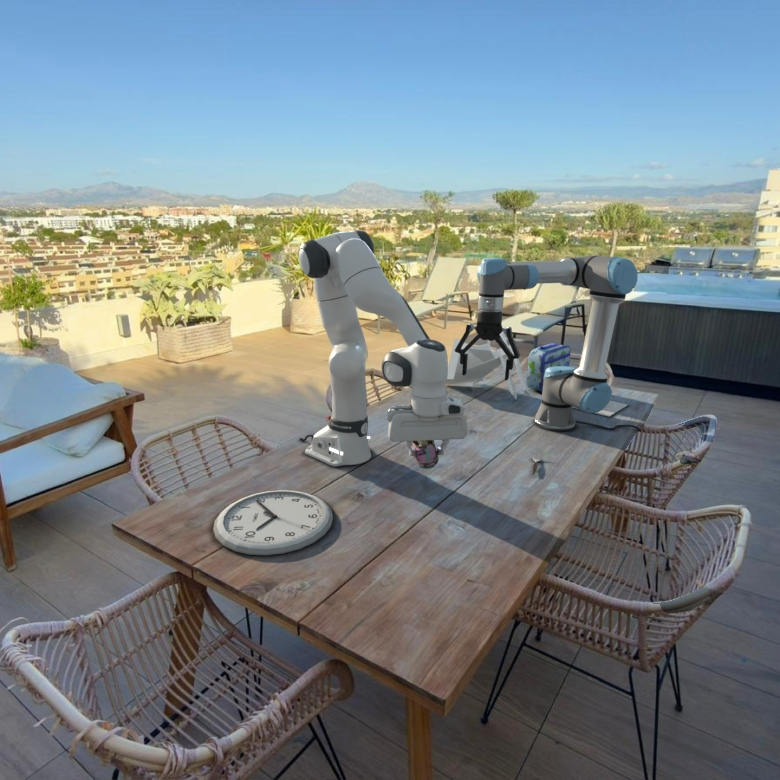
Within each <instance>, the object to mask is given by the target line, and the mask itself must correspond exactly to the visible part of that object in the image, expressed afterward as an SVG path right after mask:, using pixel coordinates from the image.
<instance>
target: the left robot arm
mask: <svg viewBox="0 0 780 780" xmlns="http://www.w3.org/2000/svg"><path fill="white" fill-rule="evenodd" d="M297 259H298V264H299V266H300V270H301V271H302V273H303V274H304V275H305V276H306V277H308V278H310V279H313V287H314V294H315V298H316V303H317V306H318V311H319V315H320V320H321V322H322V327H323V329H324V330H325V332H326V335H327V337H328V341H329V343H330V346H331V353H330V355H329V358H328V371H329V381H330V388H331V406H332V407H331V408H332V409H331V411H332V412H331V413H332V414H330V415H329V416H327V417H325V422H328V423H327V424H326V425H325V426H324V427H322V428H321V429H319V430H318V431H317V432H314V433H313V434H307V435H306V436H305V437H304V438H302V437H300V438H299V440H300V441H302V442H305V441H307V439H308V438H311V444H310V445H309V446H307V447H306V448H305V451H304V454H305V455H307V456H309V457H311V458H313V459H315V460H318V461H320V462H322V463H324V464H326V465H328V466H331V467H342V466H353V465H354V466H355V465H360V464H364V463H366V462H368V461H369V460H370V459H371V458H372V453H371V449H370V444H369V440H370V439H371V436H368V431H369V416H368V413H367V409H368V408H367V402H368V400H367V398H368V397H367V396H368V395H367V382H366V366H367V361H368V358H369V350H368V345H367V343H366V342H367V341H366V339H365V335H364V332H363V329H362V328H363V327H362V325H361V322H360V320H359V319H360V318H359V315H358V311H357V309H358V310H360V311H363V312H365V313H368V314H372V315H373V314H374V315H376V316H379V317H383V318H384V319H387V320H388V321H390V322H391V323H393V325H394V326H395V327H396V329H397V330H398V331H399V333H400V335H401V337H402V338H403V340H404V341H405V343H406V345H407V346H405V347H400V348H396V349H392V350H390V351H388V352H386V353H385V354H384V356H383V358H382V361H381V373H382V377H383V378H384V380H385V381H386V383H388V384H389V385H391V386H392V387H396V388H397V387H399V388H405V387H406V388H407V387H408V388H410V390H411V392H410V404H404V405H398V404H396V405H393V406H392V407H390V408H389V409H388V410H387V421H388V428H387V436H388V439H389V441H391V442H393V443H398V442H405V445H406V447H407V448H408V454H409V457H413V456H416V449H415V448H412V447H411V446H410V445H412V441H426V440H434V441H442V443H441V444H440V446H436V450H437V454H438V456H444V455H445V450H446V448H447V447H448V445H449V443H450V440H464V439H465V438H466V437H467V436H468V421H467V417H466V414H464V413H465V406H464V404H463V403H462V402H461V400H459V399H458V398H456V397H452V396H449V395H447V393H448V392H447V388H446V386H447V385H446V380H447V376H448V366H449V362H448V361H449V359H448V358H449V357H448V352H447V348H446V346H445V345H444V344H443V343H442V342H440V341H438V340H435V339H431V338H430V337H429V335H428V334H427V332H426V331H425V329H424V327H423V325H422V324H421V322H420V321H419V319H418V317H417V316H416V314H415V312H414V311H413V309H412V308H411V306H410V304H409V303H408V301H407V300H406V299H405V298H404V296H403V295H402V294H401V293H400V292H398V291H397V290H396V289H395V287H394V286H393V285H392V283H391V282H390V281H389V280H388V277H387V276H386V274H385V273H384V271H383V269H382V266H381V264H380V263H379V261H378V258H376V256H375V246H374V242H373V240H372V238H371V236H370V235H369V234H368V232H366V231H365V230H361V229H352V230H350V231H340V232H333V233H331V234H328V235H324V236H321V237H317V238H314V239H313V238H311V239H309V240H306V241H305V242H302V243H301V244H300V245H299V248H298V252H297Z"/></svg>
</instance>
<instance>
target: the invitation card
mask: <svg viewBox="0 0 780 780" xmlns="http://www.w3.org/2000/svg"><path fill="white" fill-rule="evenodd" d="M628 406H629V404H627V403H623V402H618V401H614V400H610V401H609V403H608V404H607V406H606V407H605V408H603V409H602V410H601V411H599V412H597V413H595V414H596V415H600V416H604V417H608V418H609V417H611V416H613V415H614V414H616V413H617V412H619V411H621V410H623V409H624V408H626V407H628ZM573 409H575V410H579V409H578V408H576V407H573Z"/></svg>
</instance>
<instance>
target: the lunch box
mask: <svg viewBox="0 0 780 780" xmlns="http://www.w3.org/2000/svg"><path fill="white" fill-rule="evenodd" d="M570 361H571V347H570V345H565V344H558V343H549V344H545V345H542V346H541V345H540V346H538V347H536V348H533V349H531V351H530V353H529V354H528V358H527V368H526V380H525V381H526V384H527V387H528V390H530V389H531V390H534V391H535V390H536V391H539V392H541V393H542V390H543V379H544V375H545V370H546V369H547V368H549V367H555V366H567V367H570Z"/></svg>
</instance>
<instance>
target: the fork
mask: <svg viewBox="0 0 780 780" xmlns="http://www.w3.org/2000/svg"><path fill="white" fill-rule="evenodd" d="M540 453H543V452H542V451H541V452H540ZM540 453H538V452H536V451H534V452H533V456H532V461H534V463H533V466H532V475H534V474H535V472H536V470H537V469H538V468H537V467H538V464H537V462H541V461H542V454H540Z"/></svg>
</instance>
